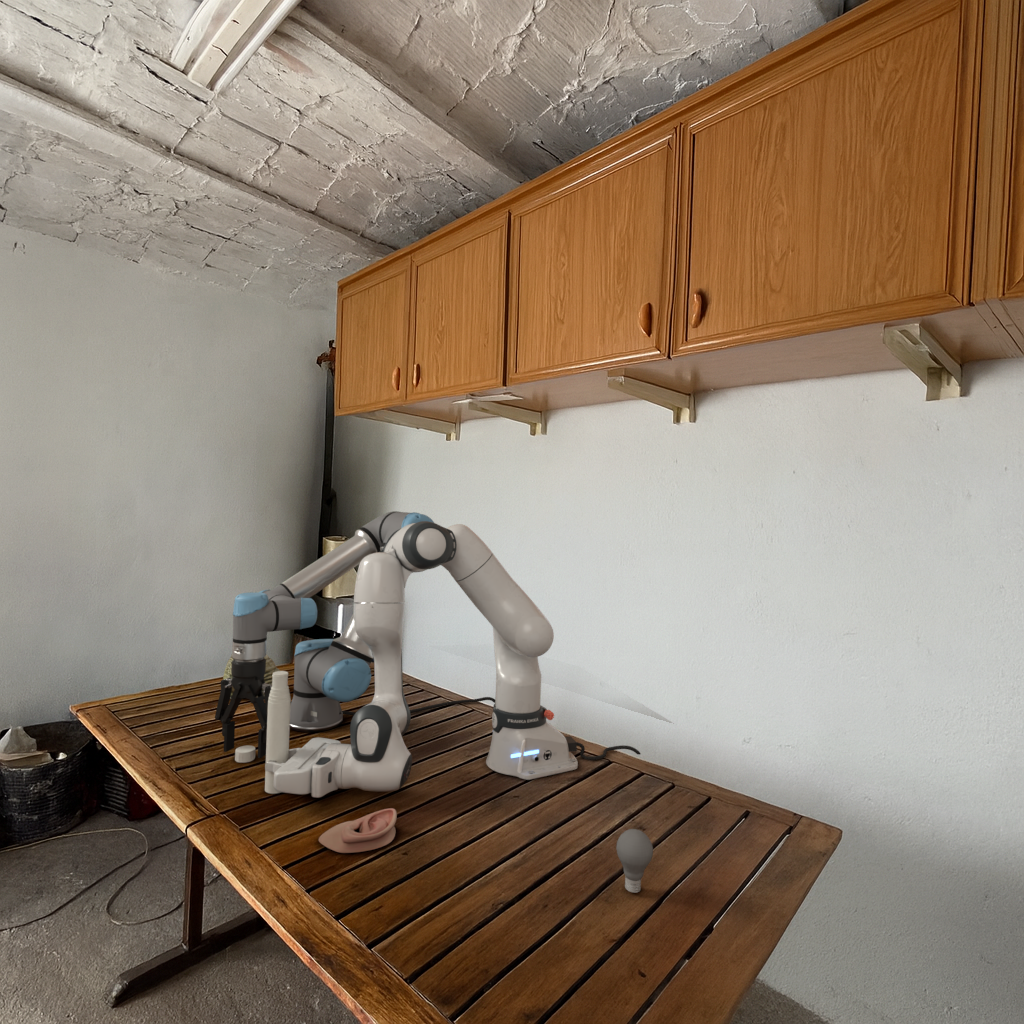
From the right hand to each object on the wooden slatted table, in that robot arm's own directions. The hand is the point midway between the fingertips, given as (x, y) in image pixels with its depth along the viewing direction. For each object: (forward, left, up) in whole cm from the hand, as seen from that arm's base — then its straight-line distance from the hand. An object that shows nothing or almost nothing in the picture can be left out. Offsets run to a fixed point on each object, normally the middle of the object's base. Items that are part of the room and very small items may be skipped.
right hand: (273, 759), depth 136 cm
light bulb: (-58, +53, -6) cm, 79 cm away
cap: (+6, -17, -4) cm, 19 cm away
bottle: (-1, 0, -6) cm, 6 cm away
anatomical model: (-16, +25, -6) cm, 30 cm away
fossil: (+7, -68, -6) cm, 68 cm away
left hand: (+6, -17, -5) cm, 19 cm away
